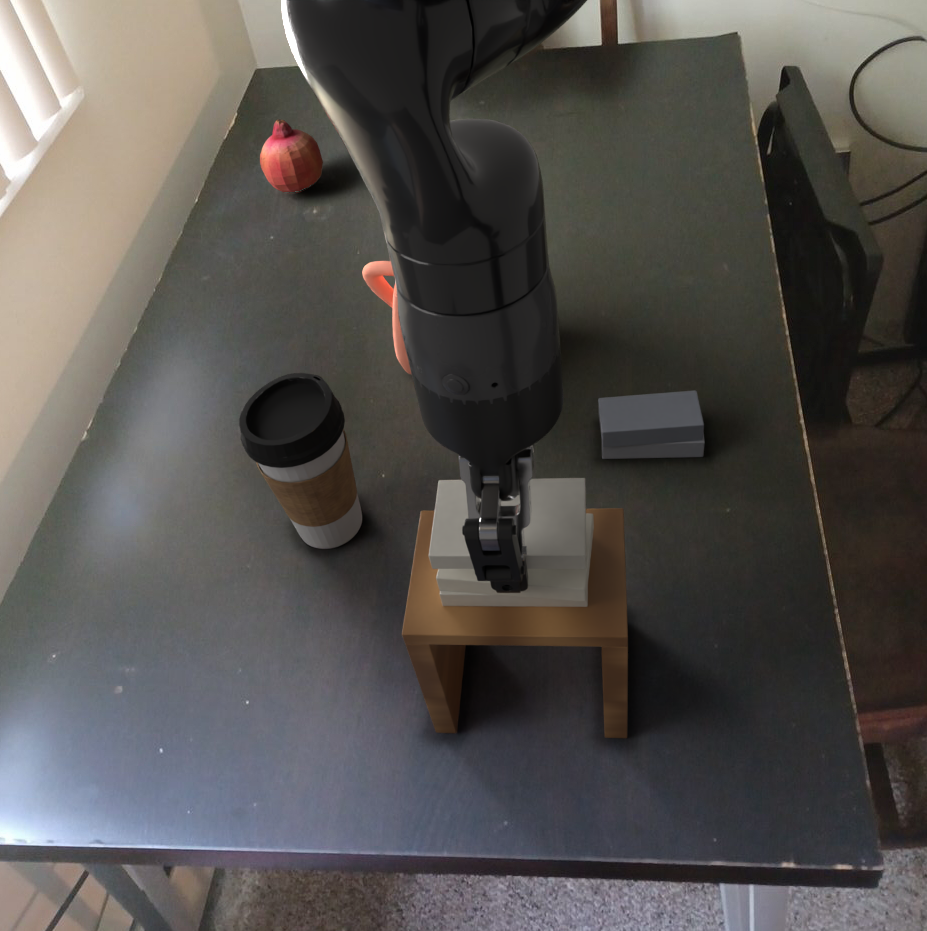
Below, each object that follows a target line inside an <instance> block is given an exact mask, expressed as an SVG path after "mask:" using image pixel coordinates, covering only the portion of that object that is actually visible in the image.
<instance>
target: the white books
mask: <svg viewBox="0 0 927 931" xmlns="http://www.w3.org/2000/svg"><path fill="white" fill-rule="evenodd" d="M593 530H594V519H593V514H588V513H586V568H585V569H527V572H528V588H527V590H525V591H521V593H497V592H496V590H493V589H492V588H491V583H490V581H478V580H477V577H476V575H475V571H474V569H438V572H437V576H436V579H437V583H438V587H439V590H440V598H441V601H442V605H443V606H522V607H587V606H588V577H589V568H590V558H591V549H592V539H593Z"/></svg>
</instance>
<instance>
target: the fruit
mask: <svg viewBox="0 0 927 931" xmlns="http://www.w3.org/2000/svg"><path fill="white" fill-rule="evenodd" d="M271 133H272V135H270V136H269V137H268V138H267V139H266V140H265V142H264V144H263V146H262V148H261V150H260V154H259V164H260V169H261V170H262V172H263V174H264V176H265V178H266V181H267V182H268V183H269V184H270V185H271V186H272V187H273V188H274V189H276V190H277V191H279V192H281V193H284V192H295V191H300V190H302V189H304V188H307V187H308V188H310V187H311V186H310V185H312V184H313V185H315V184H316V183H317V182H318V180H319V179H320V178H321V176H322V172H323V165H324V160H323V157H322V152H321V150H320V147H319V144H318V142H317V141H316V140H315V139H314V137H313V136H312V135H310V134H309V133H308V132H305V131H303V130H300V129H297V128H294V129H293V128H292V126H291V125H290V124H289V123H288V122H287V121H286V120H284V119H276V120H275V122H274V124H273V128H272V132H271ZM315 182H316V183H315ZM314 183H315V184H314ZM313 185H312V186H313ZM309 186H310V187H309ZM308 188H307V189H308ZM301 192H302V191H300V192H296V193H295V194H298V193H301Z"/></svg>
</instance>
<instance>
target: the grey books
mask: <svg viewBox="0 0 927 931" xmlns="http://www.w3.org/2000/svg"><path fill="white" fill-rule="evenodd" d="M597 402H598V403H597V404H598V405H597V406H598V419H599V428H600V435H601V458H602V460H618V459H620V460H621V459H625V460H626V459H667V458H668V459H670V458H672V459H673V458H674V459H675V458H703V457H704V454H705V452H704V451H705V444H706V443H705V434H704V432H705V431H704V430H705V423H704V418H703V414H702V408H701V405H700V400H699V395H698V391H697V390H683V391H671V392H659V393H647V394H645V393H644V394H634V395H633V394H632V395H619V396H609V397H608V396H607V397H606V396H605V397H599V398H598V400H597Z"/></svg>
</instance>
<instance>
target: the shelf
mask: <svg viewBox="0 0 927 931" xmlns="http://www.w3.org/2000/svg"><path fill="white" fill-rule="evenodd" d="M434 512H435V509H434V510H421V511H420V512H419V513H420V514H419V520H418V527H417V533H416V540H415V546H414V552H413V558H412V559H413V560H412V565H411V573H410V578H409V585H408V592H407V597H406V598H407V599H406V604H405V605H406V606H405V612H404V617H403V624H402V631H401V637H402V639H403V642H404V645H405V647H406V651H407V653H408V656H409V660H410V663H411V665H412V668H413V671H414V674H415V676H416V679H417V682H418V685H419V688H420V690H421V694H422V696H423V699H424V703H425V705H426V708H427V711H428V714H429V717H430V720H431V722H432V725H433V728H434V731H435V733H437V734H458V725H459V716H460V706H461V697H462V696H461V695H462V686H463V676H464V666H465V656H466V647H467V646H513V647H515V646H520V647H521V646H524V647H526V646H528V647H530V646H531V647H533V646H534V647H597V648H598V647H599V648H600V647H601V668H602V696H603V698H602V699H603V724H604V725H603V726H604V727H603V728H604V738H606V739H628V710H629V709H628V706H629V704H628V702H629V701H628V696H629V694H628V693H629V692H628V690H629V689H628V688H629V687H628V686H629V681H628V680H629V660H628V659H629V653H628V652H629V627H628V626H629V625H628V601H627V600H628V598H627V594H628V593H627V568H626V567H627V566H626V539H625V538H626V537H625V536H626V535H625V509H624V508H622V507H619V508H618V507H613V508H611V507H609V508H608V507H606V508H604V507H603V508H586V513H588V514H593V519H594V530H593V539H592V549H591V558H590V568H589V577H588V606H587V607H522V606H443V605H442V601H441V598H440V590H439V587H438V583H437V579H436V576H437V572H438V569H432V566H431V563H430V559H429V549H430V542H431V534H432V527H433V519H434Z"/></svg>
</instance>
